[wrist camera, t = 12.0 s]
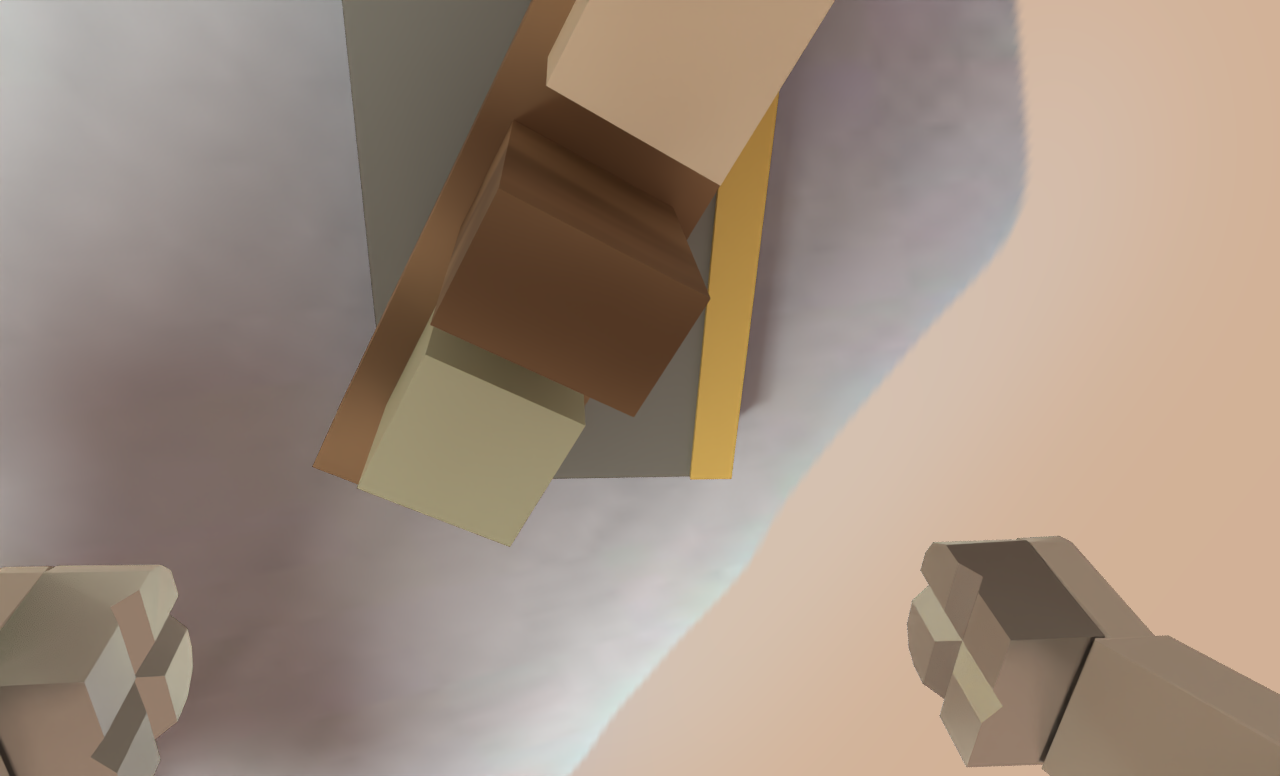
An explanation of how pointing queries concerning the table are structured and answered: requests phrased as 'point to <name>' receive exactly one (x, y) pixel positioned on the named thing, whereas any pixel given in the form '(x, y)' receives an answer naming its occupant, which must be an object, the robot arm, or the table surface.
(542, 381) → the block
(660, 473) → the dock
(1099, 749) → the robot arm
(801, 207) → the table surface
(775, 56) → the block
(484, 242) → the wooden toy cargo boat
